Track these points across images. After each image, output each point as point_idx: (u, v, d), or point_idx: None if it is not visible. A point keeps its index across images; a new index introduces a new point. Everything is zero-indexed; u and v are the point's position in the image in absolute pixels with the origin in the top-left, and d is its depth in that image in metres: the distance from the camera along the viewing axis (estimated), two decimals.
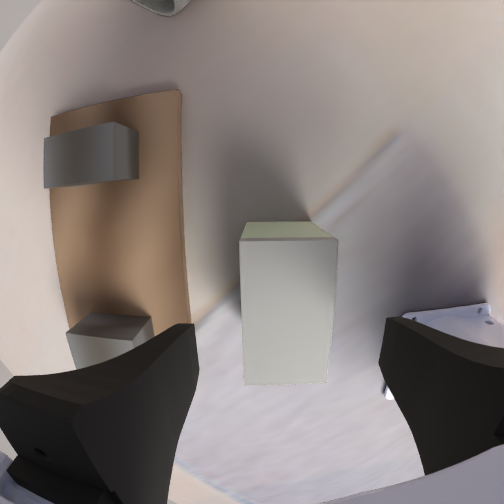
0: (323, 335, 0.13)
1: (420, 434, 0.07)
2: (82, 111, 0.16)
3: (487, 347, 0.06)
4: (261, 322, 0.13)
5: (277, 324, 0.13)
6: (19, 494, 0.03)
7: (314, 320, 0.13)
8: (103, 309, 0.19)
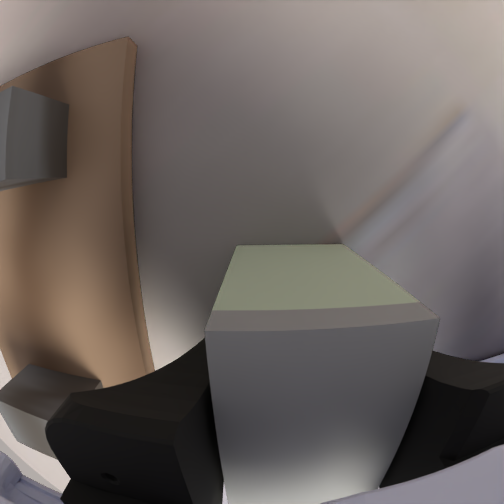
0: (374, 471, 0.05)
1: None
2: (7, 86, 0.09)
3: (446, 357, 0.06)
4: (260, 467, 0.05)
5: (292, 469, 0.05)
6: (19, 494, 0.03)
7: (363, 457, 0.05)
8: (42, 362, 0.12)
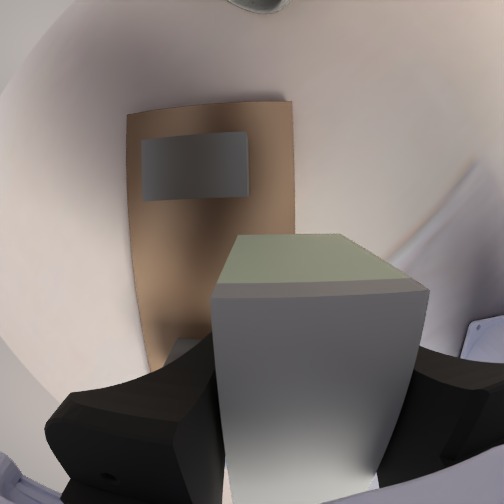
0: (373, 449, 0.06)
1: None
2: (172, 111, 0.16)
3: (446, 357, 0.06)
4: (262, 442, 0.06)
5: (292, 444, 0.06)
6: (19, 494, 0.03)
7: (362, 433, 0.06)
8: (195, 334, 0.19)
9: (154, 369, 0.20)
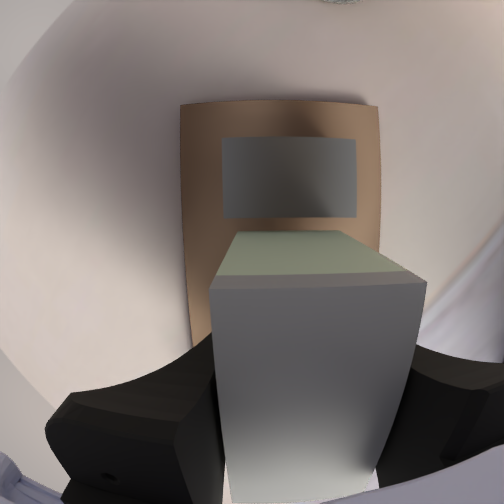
0: (372, 444, 0.06)
1: None
2: (241, 105, 0.13)
3: (446, 357, 0.06)
4: (260, 435, 0.06)
5: (291, 438, 0.06)
6: (19, 494, 0.03)
7: (361, 427, 0.06)
8: None
9: None
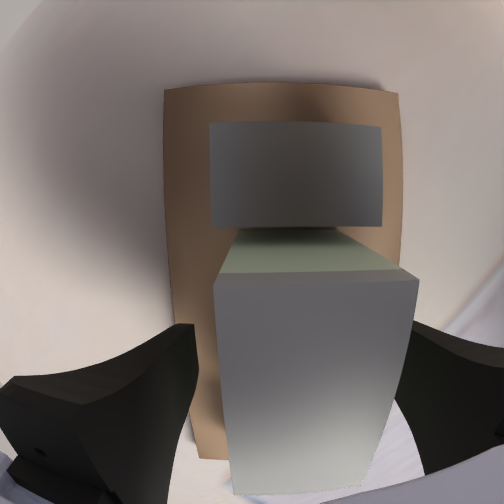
0: (368, 436, 0.06)
1: (420, 434, 0.07)
2: (237, 88, 0.11)
3: (487, 347, 0.06)
4: (261, 426, 0.06)
5: (290, 429, 0.06)
6: (19, 494, 0.03)
7: (357, 418, 0.06)
8: None
9: (199, 431, 0.14)
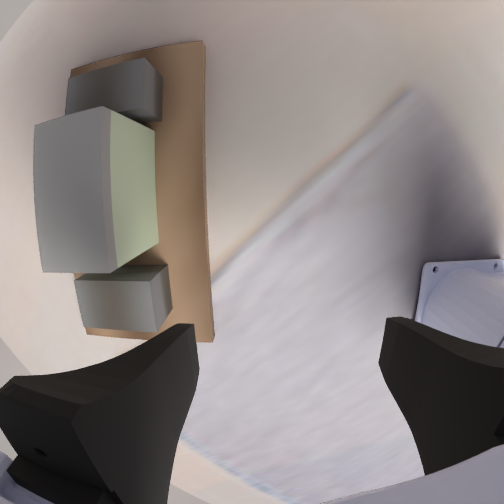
0: (95, 208, 0.11)
1: (420, 434, 0.07)
2: (105, 62, 0.15)
3: (487, 347, 0.06)
4: (46, 197, 0.11)
5: (57, 198, 0.11)
6: (19, 494, 0.03)
7: (85, 190, 0.11)
8: None
9: None
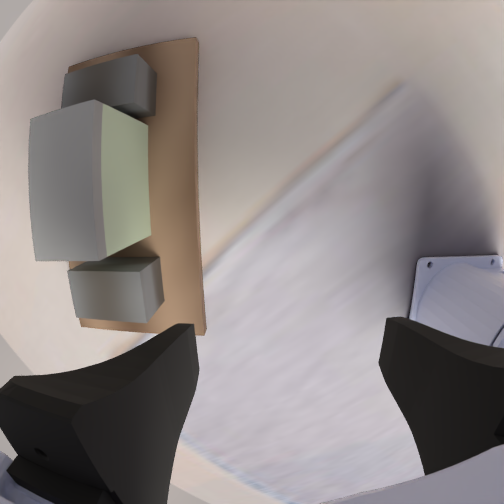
0: (85, 197, 0.11)
1: (420, 434, 0.07)
2: (101, 59, 0.16)
3: (487, 347, 0.06)
4: (40, 187, 0.11)
5: (50, 188, 0.11)
6: (19, 494, 0.03)
7: (76, 180, 0.11)
8: None
9: None
